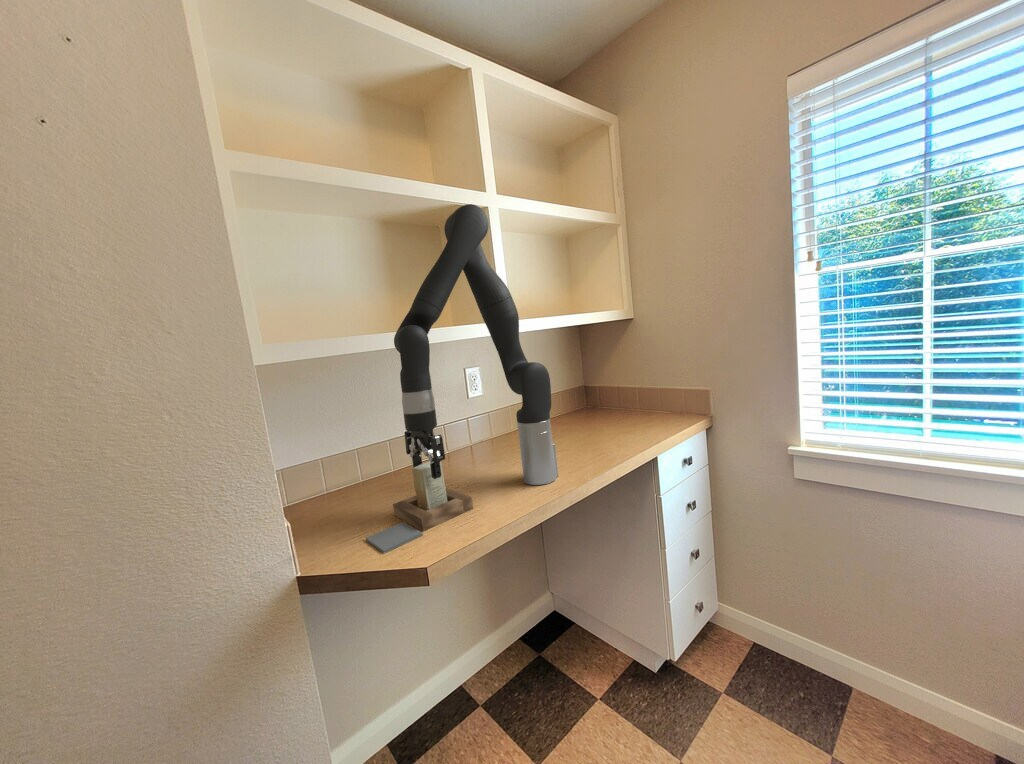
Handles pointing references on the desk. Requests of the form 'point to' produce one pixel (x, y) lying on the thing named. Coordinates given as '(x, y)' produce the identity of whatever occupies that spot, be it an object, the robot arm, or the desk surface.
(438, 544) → the desk surface
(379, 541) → the mat
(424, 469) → the skincare box
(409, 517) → the collar
